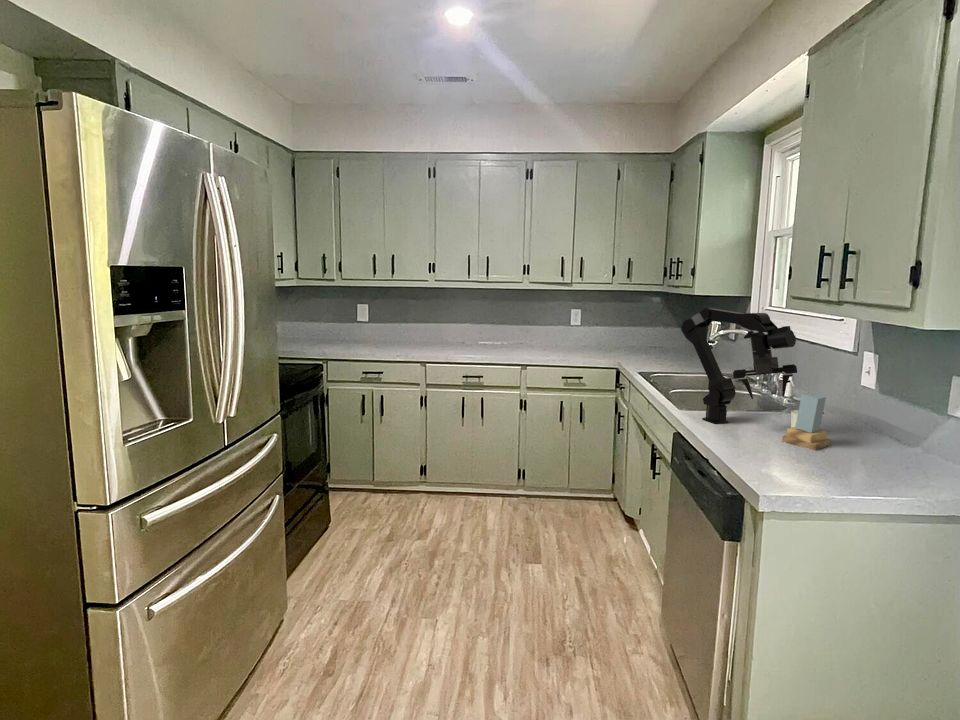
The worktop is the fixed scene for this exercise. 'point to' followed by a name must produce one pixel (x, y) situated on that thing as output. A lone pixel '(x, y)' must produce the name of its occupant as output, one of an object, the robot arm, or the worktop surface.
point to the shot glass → (794, 417)
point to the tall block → (810, 412)
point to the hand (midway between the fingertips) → (767, 397)
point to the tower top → (806, 435)
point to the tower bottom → (806, 443)
